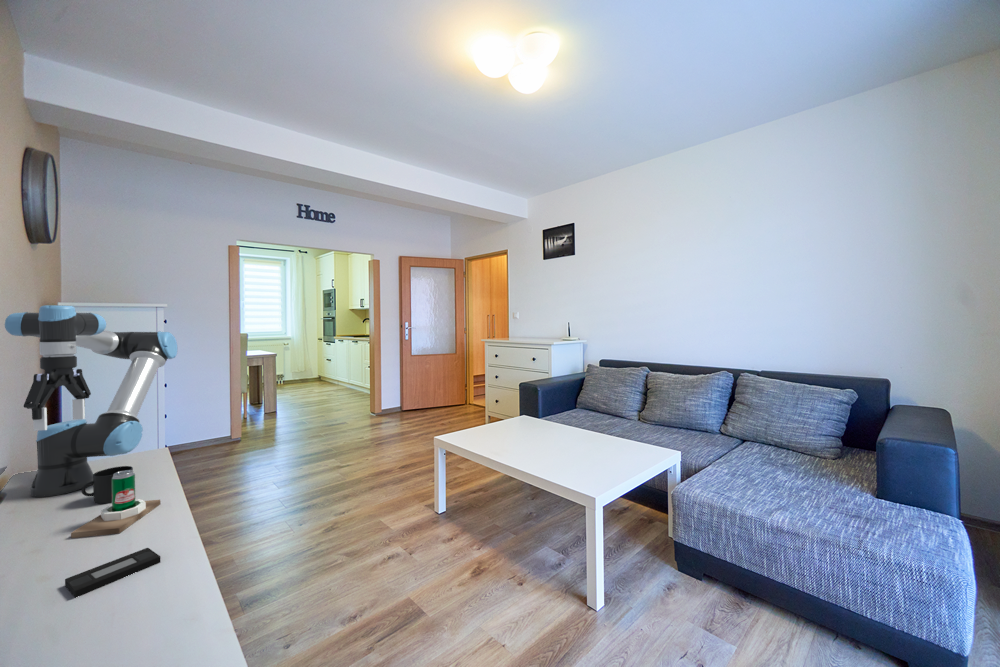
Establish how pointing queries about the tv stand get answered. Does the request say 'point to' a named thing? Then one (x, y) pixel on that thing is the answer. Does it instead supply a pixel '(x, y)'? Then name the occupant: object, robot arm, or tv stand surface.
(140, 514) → the walnut board
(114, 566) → the vhs tape
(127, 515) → the socket ring
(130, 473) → the soda can
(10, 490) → the tv stand surface
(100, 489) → the mug
